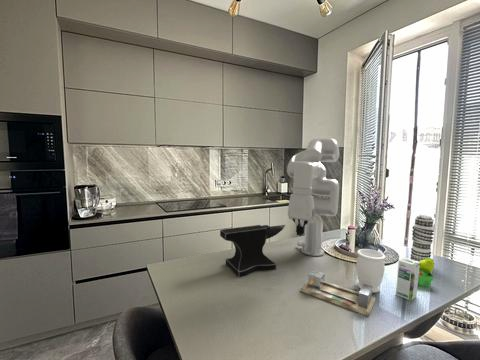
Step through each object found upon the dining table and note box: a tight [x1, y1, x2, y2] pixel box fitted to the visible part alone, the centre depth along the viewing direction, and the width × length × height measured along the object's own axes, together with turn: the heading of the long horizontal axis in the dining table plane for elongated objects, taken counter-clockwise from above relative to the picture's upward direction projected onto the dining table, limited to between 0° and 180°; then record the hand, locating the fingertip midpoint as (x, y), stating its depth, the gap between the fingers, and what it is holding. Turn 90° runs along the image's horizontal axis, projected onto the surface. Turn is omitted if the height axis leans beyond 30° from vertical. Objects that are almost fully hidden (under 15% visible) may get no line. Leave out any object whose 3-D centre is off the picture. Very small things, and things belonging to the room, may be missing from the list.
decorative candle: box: [409, 214, 435, 262], centre depth 130 cm, size 9×9×25 cm
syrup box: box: [395, 257, 420, 302], centre depth 99 cm, size 6×6×14 cm
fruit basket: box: [418, 257, 435, 288], centre depth 111 cm, size 11×9×11 cm
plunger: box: [307, 269, 326, 289], centre depth 102 cm, size 5×9×5 cm, turn 142°
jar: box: [356, 248, 386, 294], centre depth 105 cm, size 11×10×15 cm
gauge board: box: [300, 280, 376, 317], centre depth 99 cm, size 25×12×2 cm, turn 53°
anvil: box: [219, 224, 286, 279], centre depth 122 cm, size 35×15×20 cm, turn 117°
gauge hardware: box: [307, 282, 373, 309], centre depth 98 cm, size 22×8×5 cm, turn 53°
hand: (300, 234), depth 106 cm, fingers closed
